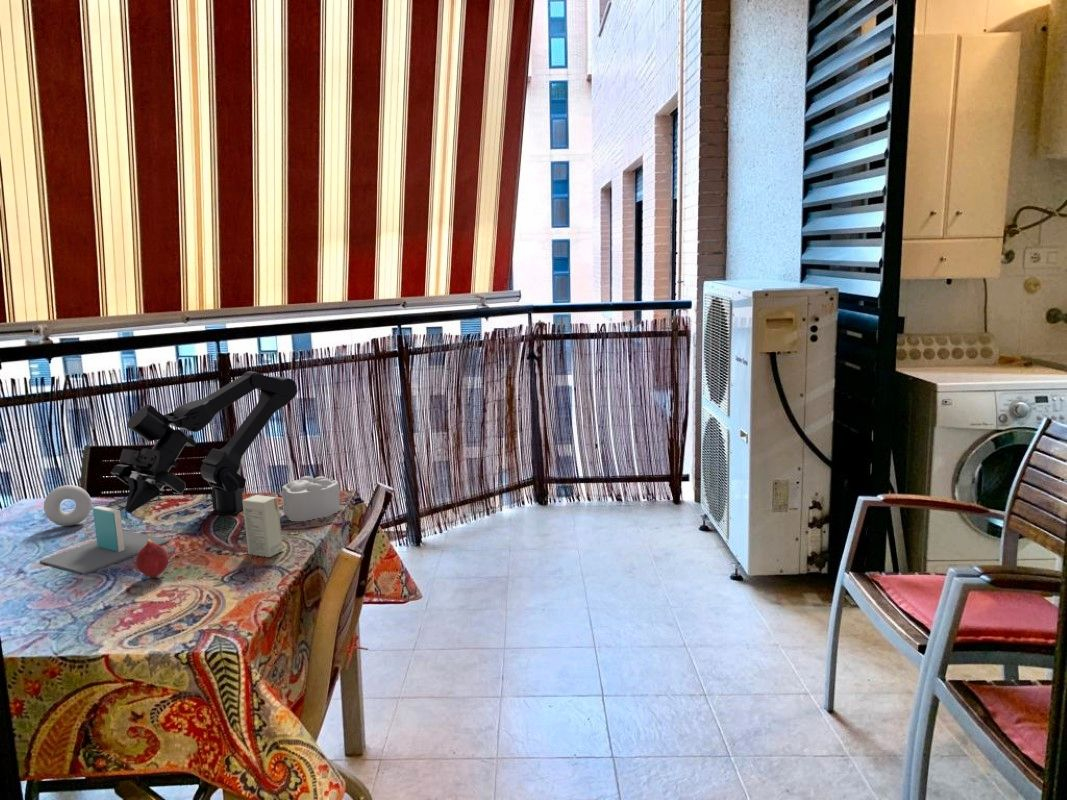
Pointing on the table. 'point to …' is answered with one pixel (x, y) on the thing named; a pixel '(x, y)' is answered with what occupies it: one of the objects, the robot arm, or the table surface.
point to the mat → (100, 554)
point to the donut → (61, 494)
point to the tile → (108, 528)
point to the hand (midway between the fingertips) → (127, 512)
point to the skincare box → (262, 525)
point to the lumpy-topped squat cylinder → (310, 498)
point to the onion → (152, 559)
